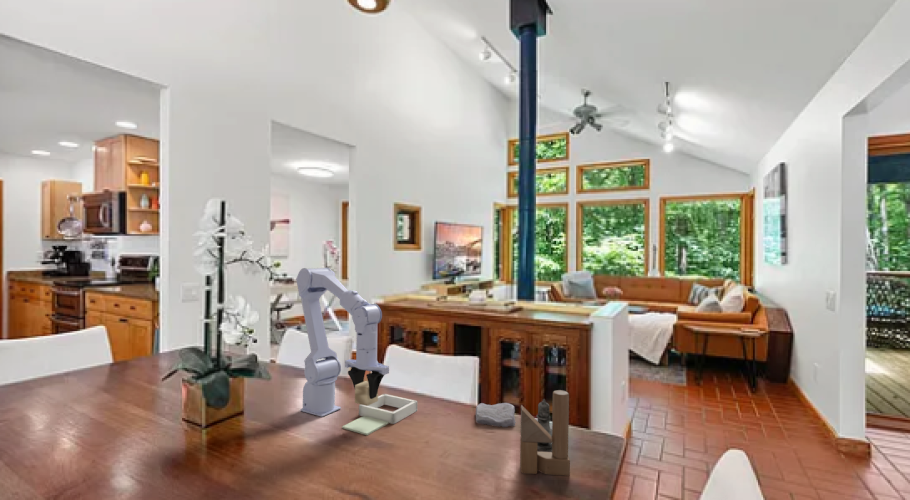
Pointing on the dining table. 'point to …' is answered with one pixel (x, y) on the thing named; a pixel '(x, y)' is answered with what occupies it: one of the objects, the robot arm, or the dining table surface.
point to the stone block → (496, 414)
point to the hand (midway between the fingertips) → (366, 396)
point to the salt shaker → (544, 423)
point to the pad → (365, 425)
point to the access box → (391, 417)
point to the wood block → (364, 394)
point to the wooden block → (546, 440)
